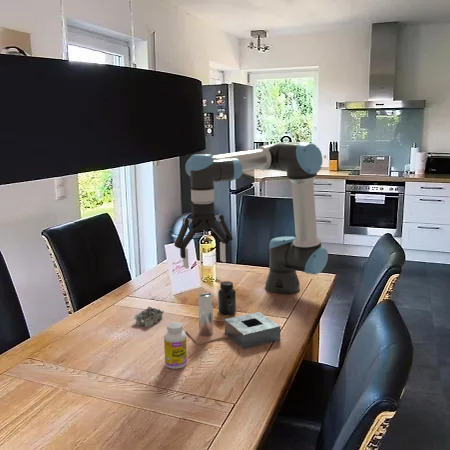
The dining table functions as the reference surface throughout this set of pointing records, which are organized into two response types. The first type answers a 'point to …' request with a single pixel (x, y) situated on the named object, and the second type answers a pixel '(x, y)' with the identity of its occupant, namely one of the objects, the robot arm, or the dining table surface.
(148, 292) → the dining table surface
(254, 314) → the bored block
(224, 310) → the supplement bottle
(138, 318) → the grey lumpy block
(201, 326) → the steel plug
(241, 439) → the dining table surface
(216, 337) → the rubber pad
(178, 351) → the supplement bottle
